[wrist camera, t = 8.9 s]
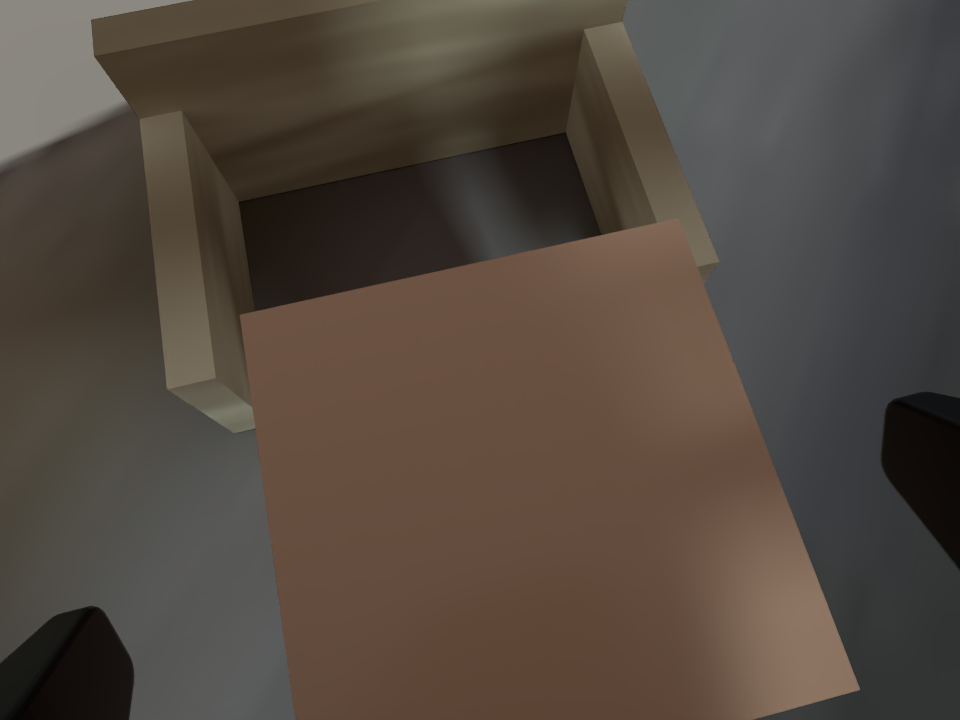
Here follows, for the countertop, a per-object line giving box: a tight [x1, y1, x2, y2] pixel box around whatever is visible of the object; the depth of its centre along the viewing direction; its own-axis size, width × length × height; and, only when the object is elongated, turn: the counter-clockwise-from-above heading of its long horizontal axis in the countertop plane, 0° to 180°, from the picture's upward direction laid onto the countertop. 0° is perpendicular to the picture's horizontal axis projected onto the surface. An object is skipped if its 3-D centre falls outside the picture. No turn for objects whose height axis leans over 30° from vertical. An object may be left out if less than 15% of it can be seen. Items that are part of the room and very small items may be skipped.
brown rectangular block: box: [240, 218, 860, 720], centre depth 12 cm, size 5×5×10 cm
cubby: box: [91, 0, 719, 433], centre depth 17 cm, size 8×12×6 cm, turn 104°
